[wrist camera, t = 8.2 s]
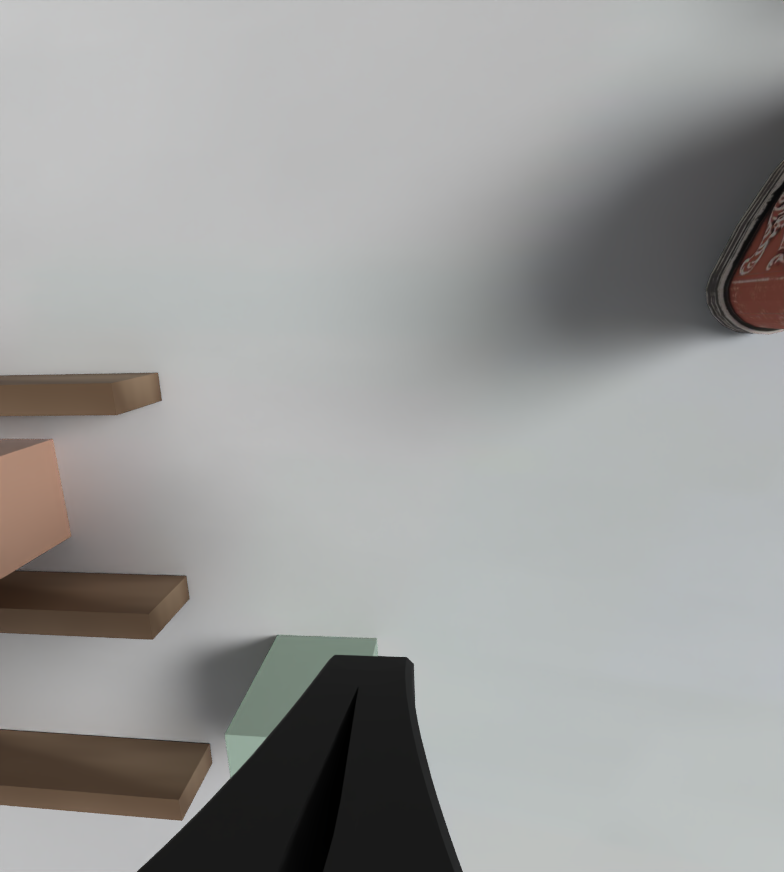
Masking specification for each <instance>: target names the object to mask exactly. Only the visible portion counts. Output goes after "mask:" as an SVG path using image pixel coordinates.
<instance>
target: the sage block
mask: <svg viewBox="0 0 784 872" xmlns="http://www.w3.org/2000/svg"><path fill="white" fill-rule="evenodd" d="M334 655H360V656H378V649H377V638H350V637H321V636H292V635H277V637H276V639H275V641H274V643H273V645H272V647H271V648H270V650H269V652H268V654H267V656H266V658H265V660H264V662H263V663H262V665H261V667H260V669H259V671H258V673H257V675H256V677H255V678H254V680H253V682H252V684H251V686H250V688H249V690H248V692H247V694H246V695H245V697H244V699H243V701H242V703H241V705H240V707H239V709H238V710H237V712H236V714H235V716H234V718H233V720H232V722H231V724H230V725H229V727H228V729H227V731H226V733H225V741H226V748H227V755H228V763H229V770H230V777H232V776H233V775H234V774H235V773H236V772H237V771H238V770H239V769H240V768H241V766H242V765H243V764H244V763H245V762H246V761H247V760H248V759H249V758H250V757H251V755H252V754H253V753H254V752H255V751H256V750H257V749H258V747H259V746H260V745H261V744H262V743H263V741H264V740H265V739H266V738H267V737H268V736H269V734H270V733H271V732H272V731H273V730H274V728H275V727H276V726H277V725H278V724H279V723H280V721H281V720H282V719H283V718H284V717H285V715H286V714H287V713H288V712H289V711H290V709H291V708H292V707H293V706H294V704H295V703H296V702H297V701H298V699H299V698H300V697H301V696H302V694H303V693H304V692H305V690H306V689H307V688H308V687H309V685H310V684H311V683H312V681H313V680H314V679H315V678H316V676H317V675H318V674H319V672H320V671H321V670H322V668H323V667H324V666H325V664H326V663H327V662H328V660H329V659H331V658H332V657H333V656H334Z"/></svg>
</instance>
